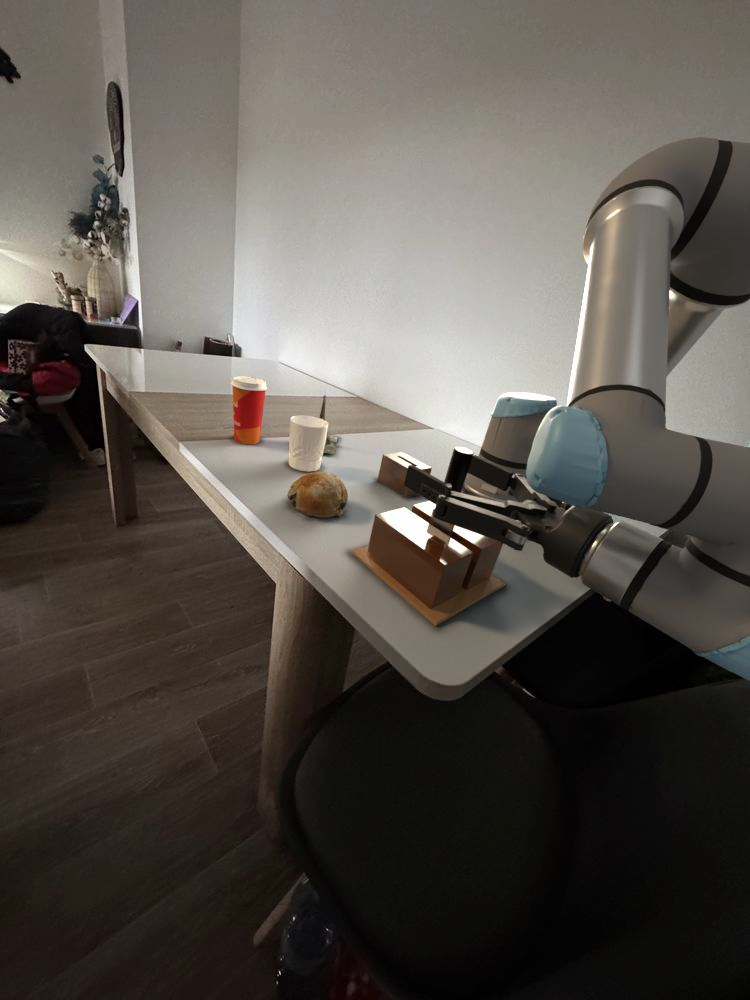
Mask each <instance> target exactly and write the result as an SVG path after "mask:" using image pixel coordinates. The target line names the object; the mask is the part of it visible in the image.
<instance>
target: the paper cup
mask: <svg viewBox="0 0 750 1000" xmlns="http://www.w3.org/2000/svg"><path fill="white" fill-rule="evenodd" d="M230 386H232V415H233V417H232V419H233V421H232V422H233V438H234V439H233V440H234V441H235V442H237V443H239V444H242V445H256V444H258V443H259V442H260V438H261V431H262V422H263V415H264V406H265V401H266V400H265V399H266V393H267V390H268V386H267V383H266V381H265V379H261V378H256V377H253V376H251V377H250V376H246V375H245V376H243V375H238V376H237V375H236V376H234V377H233V378H232V381H231V383H230Z"/></svg>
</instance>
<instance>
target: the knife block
mask: <svg viewBox="0 0 750 1000" xmlns="http://www.w3.org/2000/svg"><path fill="white" fill-rule="evenodd" d="M380 461H381V462H380V467H379V471H378V476H377V481H379V482H380V483H382V484H384V485H385V486H387V487H388V488H390V489H391V490H393V491H394V492H395V493H398V494H399V495H401V496H403V497H404V498H406V499H407V498H412V497H415V496H420V495H419V494H418V493H416V492H414V491H413V490H411V489H409V488H408V487H406V486H404V482H405V478H406V474H407V470H408V466H409V465H414V466H416V467H417V468H419V469H421V470H423V471H425V472H427V473H428V474H430V475H431V473H432V469H433V467H432V466H430V465H427V464H426V463H424V462H422V461H420V460H419V459H416V458H415V457H413V456H411V455H409V454H407V453H405V452H403V451H400V452H392V453H391V452H390V453H382V457H381V460H380Z"/></svg>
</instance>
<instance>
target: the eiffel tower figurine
mask: <svg viewBox="0 0 750 1000" xmlns="http://www.w3.org/2000/svg"><path fill="white" fill-rule="evenodd" d="M326 400H327V396H326V391H324V395H323V396H322V403H321V409H320V414H319V417H318V418H320V419H323V420H325V421H326V402H327V401H326ZM337 441H338V437H337V436H332V435H329V431H327V436H326V442H325V446H324V451H323V454H324V453H325V454H331V455H335V453H336V448H337Z"/></svg>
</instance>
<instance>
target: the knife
mask: <svg viewBox="0 0 750 1000" xmlns="http://www.w3.org/2000/svg"><path fill="white" fill-rule="evenodd" d="M474 455H475V452H474V451H473V450H471V449H469V448H467V447H463V446H454V448H453V451H452V454H451V457H450V461H449V464H448V467H447V471H446V474H445V478H444V481H443V482H445V483H446V484H451V486H452V491H455V492H459V493H463V490H464V489H463V486H464V483H465V480H466V477H467V474H468V470H469V467H470V464H471V461H472V458H473V456H474ZM434 510H435V508H433V511H432V514H431V518H430V521H429V524H431V525H432V526H434V527H435V528H437V529H438V530H440V531H441V532H443V533H444V534H446V535H447V536H449V537H451V536H452V532H453V529H454V526H455V525H452V524H449V523H446V522H444V521H441V520H438V519H436V518H434V517H433V513H434Z"/></svg>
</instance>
